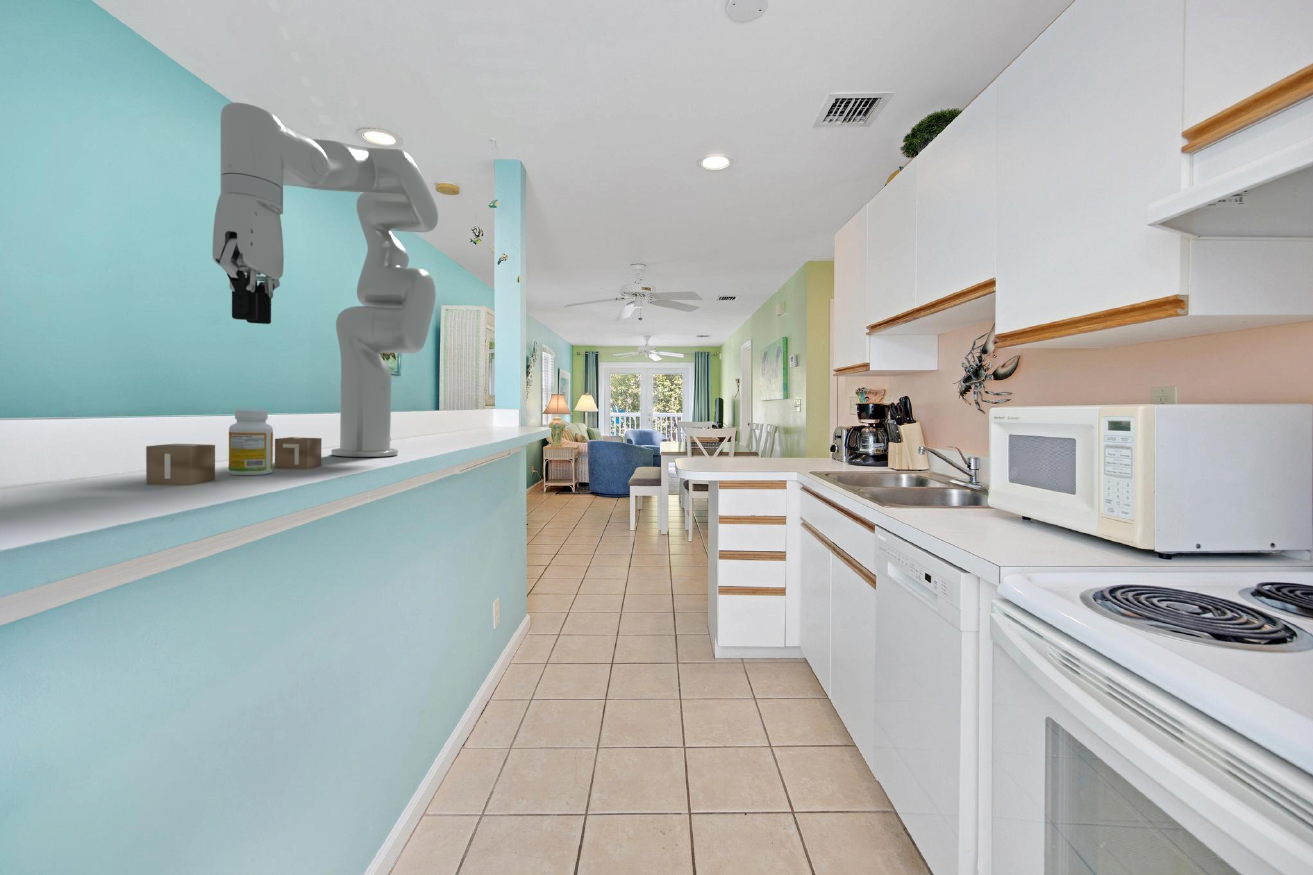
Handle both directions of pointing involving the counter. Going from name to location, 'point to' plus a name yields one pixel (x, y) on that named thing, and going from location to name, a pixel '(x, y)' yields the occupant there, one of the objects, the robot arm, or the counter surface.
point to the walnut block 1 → (180, 464)
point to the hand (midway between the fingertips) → (251, 320)
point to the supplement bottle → (250, 444)
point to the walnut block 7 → (297, 453)
